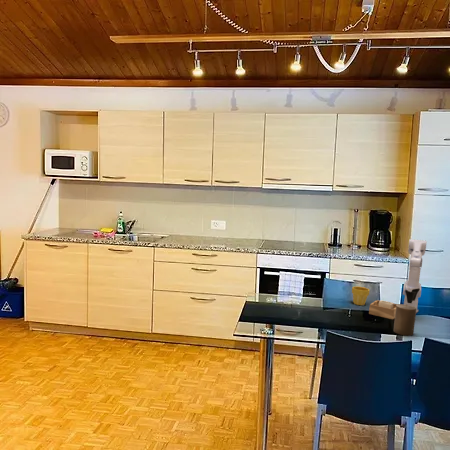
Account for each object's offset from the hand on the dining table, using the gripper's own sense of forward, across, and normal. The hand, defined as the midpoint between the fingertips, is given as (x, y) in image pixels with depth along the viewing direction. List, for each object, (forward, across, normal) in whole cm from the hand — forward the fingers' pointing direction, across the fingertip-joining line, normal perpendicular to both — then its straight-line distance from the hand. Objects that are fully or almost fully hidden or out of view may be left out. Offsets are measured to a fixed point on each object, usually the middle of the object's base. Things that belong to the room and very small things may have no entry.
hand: (411, 301), depth 265 cm
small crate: (+8, +4, -12) cm, 16 cm away
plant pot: (+10, -6, -31) cm, 33 cm away
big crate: (+9, +4, -13) cm, 17 cm away
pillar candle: (+10, +30, +4) cm, 32 cm away
